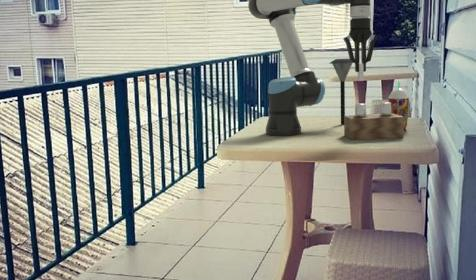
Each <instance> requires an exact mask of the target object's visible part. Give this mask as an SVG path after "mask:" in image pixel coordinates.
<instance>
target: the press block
mask: <svg viewBox="0 0 476 280" xmlns="http://www.w3.org/2000/svg"><path fill="white" fill-rule="evenodd" d="M343 126H344V127H343V130H344V131H343V132H344V136H345V138H348V139H350V140H352V141H358V140H359V141H360V140H361V141H362V140H377V139H379V140H381V139H380V138H385V139H402V138H404V134H405V132H404V131H405V130H404V117H403V116H400V115H397V114H394V113H391V116H386V117H381V113H376V114H375V113H372V114H371V113H370V114H366V117H365V118H355V114H354V115H351V114H350V115H345V116H344V125H343Z"/></svg>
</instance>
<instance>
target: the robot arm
mask: <svg viewBox="0 0 476 280" xmlns="http://www.w3.org/2000/svg"><path fill="white" fill-rule="evenodd" d="M347 4H348V5H349V17H350V20H349V21H350V22H349V25H350V26H349V32H348V35H346V36H344V37H343V38H342V39H343V41H344V43H345V45H346V50H347V54H348V59H350V61H351V62H353V63H352V64H354V71H355V73H357V81H359V82H363V81H365V80H364V72H366V71H367V63H368V62H371V60H372V56H373V53H374V48H375V44H376V41H377V40H378V37H379V36H377V35H374V34H373V32H372V29H371V18H370V17H371V0H248V11H249V13H250V14H251V15H252V16H253V17H254V18H257V19H259V20H268V22H269V25H270V27H272V28H274V29H275V32H276V35H277V38H278V42H279V43H280V47H281V51H282V54H283V56H284V61H286V65H287V69H288V71H289V74H290V76H286V77H279V78H276V79H272V80H270V82H269V83H268V89H267V93H268V111H269V113H268V114H269V115H268V120H267V123H266V127H265V135H267V136H275V137H276V136H281V137H283V136H284V137H285V136H294V135H295V136H296V135H300V134H301V133H302V126H301V124H300V120H299V118H298V114H297V113H298V112H297V111H298V110H297V108H299V107H308V106H309V107H312V106H314V105H318V104H320V103H321V102H322V101H323V100H324V96H325V94H326V88H325V87H326V86H325V83H324V81H323V80H322V79H320V78H319V77H317V76H316V74H315V71H314V70H311V69H310V67H309V64H308V61H307V59H306V55H305V53H304V50H303V47H302V43H301V41H300V37H299V35H298V32H297V29H296V26H295V23H294V21H295V19H296V14H297V8H300V7H307V6H314V5H328V6H331V7H332V6H333V7H334V6H336V7H338V6H342V5H347ZM351 40H352V42H353V44H354V50H353V47H352V43H351ZM369 40H370V41H369ZM367 41H369V45H368V50H367V43H368V42H367ZM360 48H361V51H360ZM353 51H354V52H353ZM360 52H361V53H360ZM360 54H361V55H360ZM360 56H361V59H360ZM360 60H361V62H360Z"/></svg>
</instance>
